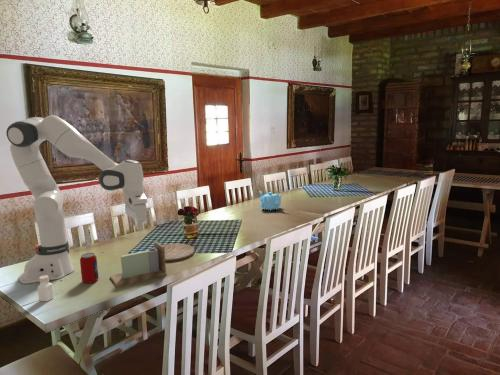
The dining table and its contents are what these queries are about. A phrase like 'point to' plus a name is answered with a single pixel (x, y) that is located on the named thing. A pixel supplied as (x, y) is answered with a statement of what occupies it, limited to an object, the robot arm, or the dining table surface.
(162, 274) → the cabinet base
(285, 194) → the dining table surface
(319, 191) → the dining table surface
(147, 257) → the pale green grey block
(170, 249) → the trivet
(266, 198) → the teapot
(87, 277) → the beverage can
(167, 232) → the dining table surface
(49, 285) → the pepper shaker
